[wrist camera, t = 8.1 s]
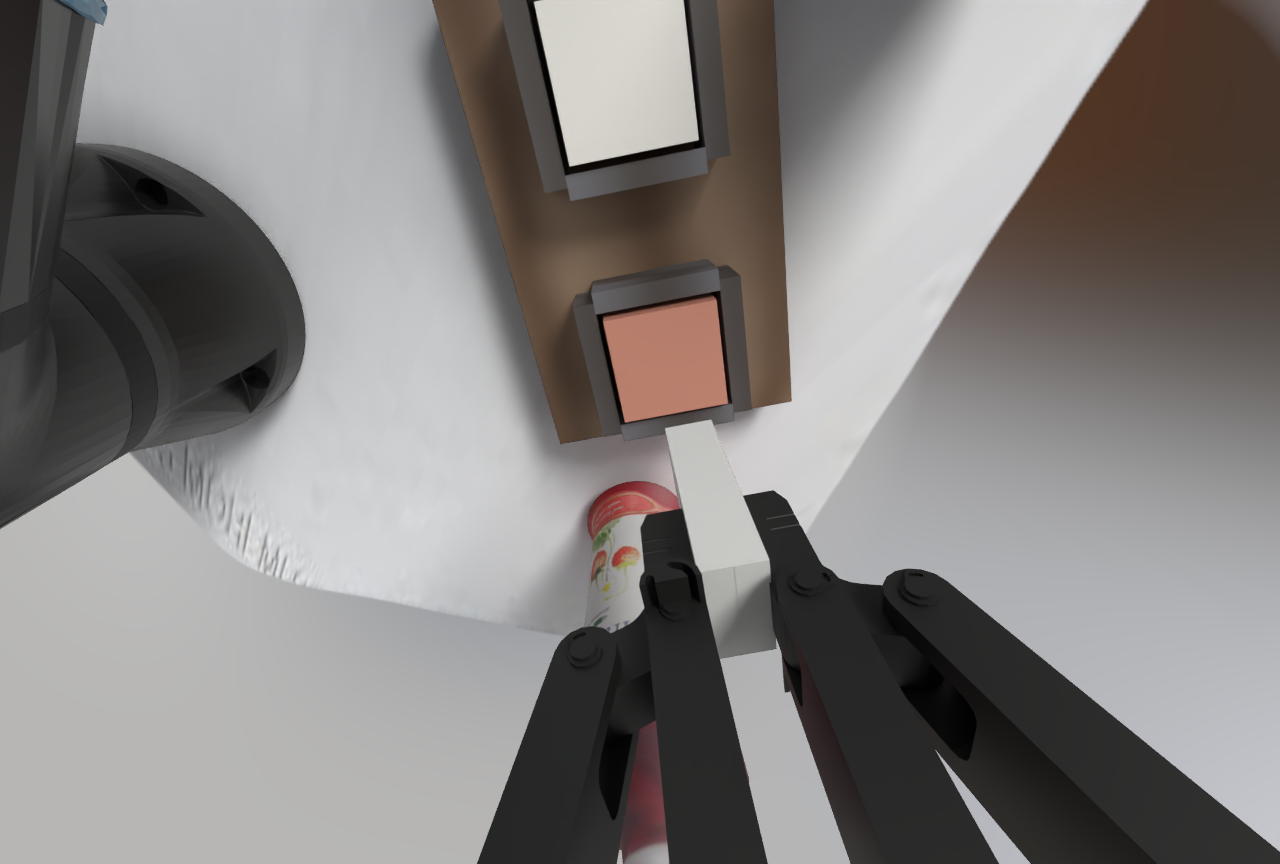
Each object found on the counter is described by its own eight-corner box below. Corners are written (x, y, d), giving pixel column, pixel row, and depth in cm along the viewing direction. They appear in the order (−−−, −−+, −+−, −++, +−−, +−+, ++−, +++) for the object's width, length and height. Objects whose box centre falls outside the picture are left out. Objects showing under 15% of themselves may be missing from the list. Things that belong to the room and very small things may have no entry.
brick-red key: (623, 406, 28) (624, 422, 27) (603, 311, 26) (603, 321, 24) (720, 388, 28) (728, 403, 26) (709, 290, 26) (716, 299, 24)
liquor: (620, 450, 35) (650, 1162, 10) (706, 497, 37) (907, 1179, 12) (565, 525, 37) (481, 1236, 12) (649, 565, 39) (716, 1239, 15)
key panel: (564, 422, 34) (555, 470, 28) (446, -2, 23) (398, -52, 18) (776, 382, 33) (809, 423, 28) (750, -68, 23) (793, -139, 18)
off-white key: (572, 166, 23) (569, 166, 21) (540, 15, 20) (533, 2, 19) (691, 142, 23) (698, 139, 21) (673, -13, 20) (680, -30, 18)
